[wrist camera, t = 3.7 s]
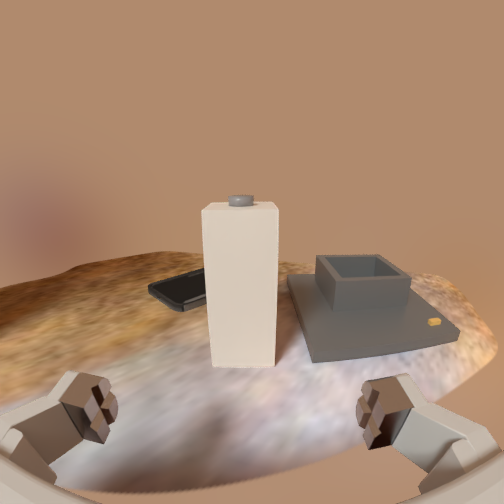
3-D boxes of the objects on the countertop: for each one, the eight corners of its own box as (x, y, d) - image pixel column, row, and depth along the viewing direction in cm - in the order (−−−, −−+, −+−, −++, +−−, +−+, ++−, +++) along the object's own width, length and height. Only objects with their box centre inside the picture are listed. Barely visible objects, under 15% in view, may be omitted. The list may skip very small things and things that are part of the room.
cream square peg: (212, 366, 19) (201, 199, 16) (218, 335, 23) (211, 194, 20) (274, 366, 19) (278, 198, 16) (270, 334, 23) (272, 193, 20)
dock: (312, 362, 19) (318, 315, 18) (286, 282, 35) (287, 250, 33) (457, 340, 19) (469, 300, 18) (388, 278, 35) (392, 249, 34)
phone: (277, 270, 37) (178, 306, 27) (277, 278, 37) (179, 316, 27) (236, 258, 42) (144, 284, 32) (236, 265, 42) (145, 293, 32)
